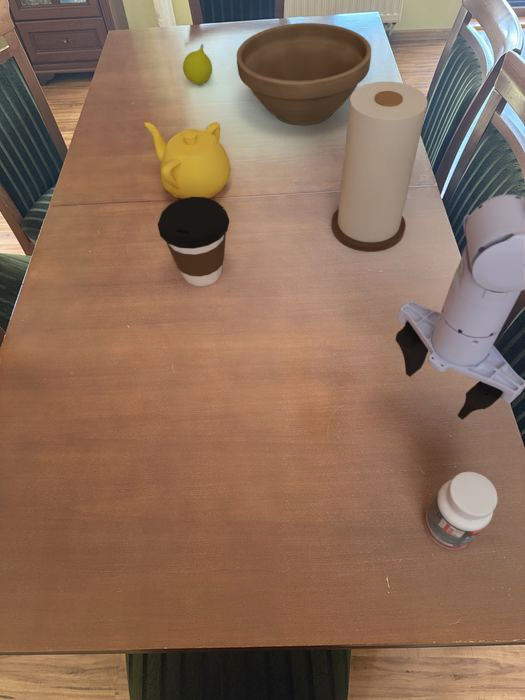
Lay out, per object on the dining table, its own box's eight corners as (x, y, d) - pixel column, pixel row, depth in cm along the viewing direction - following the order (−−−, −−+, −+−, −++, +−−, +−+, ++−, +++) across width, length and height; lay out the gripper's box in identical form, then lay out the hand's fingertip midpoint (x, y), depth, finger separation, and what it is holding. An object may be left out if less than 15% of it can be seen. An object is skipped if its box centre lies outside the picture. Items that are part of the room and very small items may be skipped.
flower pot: (229, 140, 111) (224, 78, 101) (251, 78, 128) (248, 19, 117) (361, 147, 108) (369, 83, 97) (366, 82, 124) (373, 22, 114)
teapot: (221, 161, 106) (215, 105, 97) (241, 201, 98) (236, 144, 88) (155, 175, 104) (143, 119, 95) (170, 217, 96) (158, 161, 86)
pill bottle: (464, 560, 57) (493, 532, 49) (416, 533, 59) (436, 502, 51) (480, 517, 60) (510, 483, 52) (433, 493, 62) (455, 457, 54)
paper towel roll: (413, 216, 94) (445, 85, 75) (390, 260, 87) (419, 129, 68) (347, 198, 97) (361, 70, 79) (320, 239, 91) (329, 109, 72)
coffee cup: (221, 303, 82) (212, 246, 72) (159, 289, 84) (143, 232, 75) (243, 258, 88) (238, 200, 79) (186, 247, 91) (174, 189, 81)
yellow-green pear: (217, 85, 126) (213, 42, 118) (190, 92, 125) (184, 48, 117) (208, 73, 130) (203, 30, 122) (181, 79, 129) (175, 36, 121)
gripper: (387, 293, 51) (369, 370, 62) (513, 385, 44) (468, 455, 55) (433, 261, 54) (408, 341, 64) (559, 343, 46) (507, 417, 57)
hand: (438, 391), depth 60 cm, fingers open, 7 cm apart
